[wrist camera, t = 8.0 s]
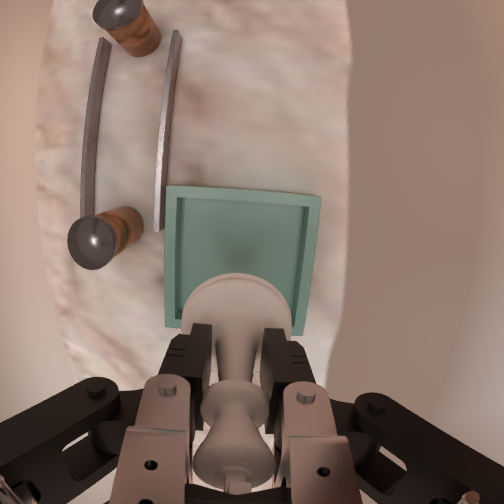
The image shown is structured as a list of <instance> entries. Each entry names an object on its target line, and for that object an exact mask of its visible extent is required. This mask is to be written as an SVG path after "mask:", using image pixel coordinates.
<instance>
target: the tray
mask: <svg viewBox="0 0 504 504" xmlns="http://www.w3.org/2000/svg"><path fill="white" fill-rule="evenodd" d="M320 205H321V197H320V196H316V195H311V194H301V193H291V192H280V191H269V190H257V189H244V188H229V187H214V186H195V185H167V188H166V210H165V248H164V292H165V327H170V328H180V329H182V328H181V325H182V313H183V309H184V306H185V303H186V301H187V299H188V298H189V296H190V295H191V293H192V292H193V291H194V290H195V289H196V288H197V287H198V286H199V285H201V284H202V283H203V282H205V281H207V280H209V279H211V278H213V277H215V276H219V275H222V274H228V273H244V274H250V275H254V276H257V277H259V278H262V279H264V280H266V281H267V282H269V283H270V284H272V285H273V286H274V287H275V288H277V289H278V290H279V291H280V293H281V294H282V295H283V297H284V298H285V300H286V302H287V304H288V306H289V309H290V312H291V319H292V331H291V336H303V331H304V325H305V319H306V312H307V306H308V299H309V292H310V285H311V278H312V271H313V264H314V256H315V248H316V240H317V232H318V223H319V214H320Z"/></svg>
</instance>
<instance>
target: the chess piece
mask: <svg viewBox="0 0 504 504" xmlns="http://www.w3.org/2000/svg"><path fill="white" fill-rule="evenodd" d="M193 323H202V324H212V357H211V370H212V371H214V372H217V373H218V377H219V382H217V383H215V384H213V385H211V386H209V387H208V388H207V389H206V390H205V391H204V392H203V400H202V402H201V406H200V413H201V416H202V418H203V420H204V421H205V422H206V423H207V424H208V425H209V426H210V427H211V428H210V431H209V433H208V435H207V437H206V438H205V440H204V441H203V442H202V443H201V444H200V446H199V448H198V449H197V451H196V453H195V455H194V457H193V461H192V467H193V470H194V472H195V474H196V475H197V476H198V477H199V478H200V479H201V480H202V481H204V482H205V483H207V484H209V485H211V486H213V487H216V488H220V489H224V491H223V492H225V493H229V494H234V495H241V494H247V493H252V492H251V488H254V487H257V486H259V485H261V484H263V483H265V482H266V481H268V480H269V479H270V478H271V477H272V476H273V474H274V472H275V469H276V461H275V458H274V456H273V454H272V452H271V450H270V449H269V447H268V445H267V444H266V443H265V442H264V440H263V438H262V437H261V435H260V432H259V430H258V428H259V427H260V426H262V425H263V424H264V423H265V421H266V420H267V418H268V416H269V406H270V399H269V397H268V395H267V393H266V392H265V391H264V390H263V389H262V388H260V387H259V386H257V385H255V384H253V383H252V378H253V374H254V373H257V372H260V360H261V351H262V342H263V333H264V328H283V329H284V332H285V336H286V339H287V341H290V338H291V331H292V319H291V312H290V309H289V306H288V304H287V302H286V300H285V298H284V297H283V295H282V294H281V293H280V291H279V290H278V289H277V288H275V287H274V286H273V285H272V284H270V283H269V282H267V281H266V280H264V279H262V278H259V277H257V276H254V275H250V274H244V273H228V274H222V275H219V276H215V277H213V278H211V279H209V280H207V281H205V282H203V283H202V284H201V285H199V286H198V287H197V288H196V289H195V290H194V291H193V292H192V293H191V295H190V296H189V298H188V299H187V301H186V303H185V306H184V309H183V313H182V325H181V328H182V334H186V335H190V332H191V329H192V326H193Z"/></svg>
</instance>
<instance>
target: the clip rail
mask: <svg viewBox="0 0 504 504" xmlns="http://www.w3.org/2000/svg"><path fill="white" fill-rule="evenodd" d="M93 19H94V21H95V22H96V23H97V24H98V25H99V26H100V27H101V28H102V29H104V30H106V31H107V32H108V33H109V34H110V35H111V36H112V37H113V38H114V39H115V40H116V41H117V42H118V43H119V44H120V45H121V46H122V47H123V48H124V49H125V50H126V51H127V52H128V53H129V54H130V55H132V56H135V57H143V56H146V55H148V54H150V53H152V52H153V51H154V50H156V48H157V47H158V46H159V44H160V42H161V33H160V31H159V29H158V28H157V26H156V24H155V23H154V21H153V19H152V18H151V16H150V14H149V13H148V11H147V9H146V8H145V6H144V4H143V0H99V1H98V2H97V4H96V5H95V7H94V10H93ZM181 42H182V37H181V35H180V33H179V31H178V30H173V33H172V39H171V45H170V51H169V57H168V64H167V71H166V78H165V85H164V93H163V101H162V110H161V120H160V130H159V141H158V153H157V167H156V185H155V207H154V232H160V231H161V230H163V229H164V228H165V201H166V181H167V165H168V152H169V140H170V128H171V118H172V109H173V100H174V91H175V83H176V76H177V68H178V61H179V55H180V48H181ZM110 49H111V44H110V43H109V42H108V41H107V40H106V39H105V38H104V37H102V38H99V42H98V47H97V51H96V56H95V61H94V66H93V71H92V77H91V83H90V89H89V96H88V103H87V110H86V119H85V128H84V138H83V151H82V167H81V197H80V219H78V220H77V221H75V222H74V223H73V225H72V226H71V228H70V230H69V233H68V239H67V242H68V249H69V252H70V254H71V256H72V258H73V259H74V261H75V262H76V263H77V264H78V265H80V266H81V267H83V268H85V269H89V270H97V269H100V268H102V267H103V266H105V265H106V264H107V263H109V262H110V261H111V260H112V259H113V257H115V256H116V255H118V254H119V253H120V252H122V251H123V250H125V249H126V248H128V247H129V246H131V245H132V244H134V243H135V242H136V241H138V240H139V238H140V237H141V235H142V233H143V220H142V218H141V216H140V214H139V213H138V212H137V211H136V210H135V209H133V208H131V207H126V206H125V207H119V208H116V209H113V210H110V211H106V212H103V213H100V214H97V215H94V186H95V164H96V149H97V137H98V127H99V117H100V109H101V101H102V94H103V87H104V81H105V75H106V69H107V64H108V59H109V53H110Z"/></svg>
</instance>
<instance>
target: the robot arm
mask: <svg viewBox="0 0 504 504" xmlns="http://www.w3.org/2000/svg"><path fill="white" fill-rule="evenodd" d="M306 356H307V355H306V353H305V350H304V348H303V347H302V346H301V345H300V344H299V343H298V342H297V341H287V339H286V336H285V332H284V329H283V328H264V333H263V342H262V351H261V360H260V383H261V388H262V389H263V390H264V391H265V392H266V393H267V395H268V397H269V399H270V406H269V416H268V418H267V420H266V421H265V423H264V425H265V434H274V445H273V450H272V454H273V456H274V458H275V461H276V469H275V472H274V474H273V476H272V489H267V490H262V491H257V492H252V493H247V494H241V495H234V494H229V493H225V492H221V491H217V490H214V489H210V488H206V487H203V486H200V485H196V484H193V467H192V461H193V441H194V437H195V431H196V430H201V431H203V426H204V420H203V418H202V416H201V413H200V406H201V402H202V400H203V392H204V391H205V390H206V389H207V388H208V387H209V380H210V373H211V357H212V324H202V323H193V326H192V329H191V332H190V335H186V334H178V335H177V336H176V337H174V338H173V339H172V340H171V342H170V344H169V347H168V349H167V352H166V355H165V357H164V360H163V362H162V365H161V368H160V370H159V373H158V375H156V376H154V377H151V378H150V379H149V380H147V382H146V383H145V385H144V388H143V389H140V390H132V391H119V390H118V386H117V385H116V383H115V382H113V381H112V380H110V379H108V378H104V377H91V378H87V379H85V380H82V381H81V382H79V383H77V384H75V385H73V386H71V387H69V388H67V389H65V390H63V391H62V392H60V393H58V394H56V395H54V396H52V397H50V398H48V399H46V400H44V401H42V402H41V403H39V404H37V405H35V406H33V407H31V408H29V409H27V410H25V411H23V412H21V413H19V414H17V415H15V416H13V417H11V418H9V419H7V420H5V421H3V422H1V423H0V504H67V503H68V502H70V501H71V500H72V499H74V498H75V497H77V496H78V495H80V494H81V493H82V492H84V491H85V490H87V489H88V488H90V487H91V486H92V485H94V484H95V483H96V482H98V481H99V480H101V479H102V478H103V477H104V476H106V475H107V474H109V473H110V472H111V471H112V470H114V469H115V468H116V467H117V469H116V474H115V478H114V483H113V488H112V492H111V497H110V500H109V501H107V502H106V503H104V504H363V503H362V499H361V494H360V489H361V490H362V491H363V492H364V493H366V494H367V495H368V496H369V497H370V498H372V499H373V500H374V501H375V502H377V503H378V504H504V467H503V466H502V465H500V464H498V463H496V462H495V461H493V460H491V459H489V458H487V457H486V456H484V455H482V454H481V453H479V452H477V451H475V450H474V449H472V448H470V447H469V446H467V445H465V444H463V443H462V442H460V441H458V440H457V439H455V438H453V437H452V436H450V435H449V434H447V433H445V432H443V431H442V430H440V429H439V428H437V427H435V426H434V425H432V424H430V423H429V422H427V421H426V420H424V419H423V418H421V417H419V416H418V415H416V414H414V413H413V412H411V411H410V410H408V409H406V408H405V407H403V406H402V405H400V404H399V403H397V402H396V401H394V400H392V399H391V398H389V397H388V396H386V395H383V394H379V393H365V394H362V395H360V396H358V397H357V398H356V400H355V403H354V404H352V403H346V402H340V401H336V400H332V399H330V398H329V395H328V393H327V391H326V390H325V389H324V388H323V387H321V386H320V385H318V384H316V382H315V379H314V376H313V373H312V370H311V367H310V364H309V361H308V358H307V357H306ZM86 432H88V436H86V437H85V438H83V439H82V440H80V441H78V442H77V443H75V444H74V445H72V446H71V447H69V448H67V449H66V450H64V451H63V452H62V450H63V448H64V447H65V446H66V445H67V444H69V443H70V442H72V441H74V440H75V439H77V438H78V437H80V436H81V435H83V434H85V433H86ZM381 446H382V447H384V448H385V449H387V450H388V451H389V452H391V453H392V454H394V455H395V456H396V457H398V458H399V459H400V460H402V461H403V462H404V463H405V465H406V468H407V471H405V470H404V469H403V468H401V467H400V466H398V465H397V464H396V463H394V462H393V461H391V460H390V459H389V458H387V457H386V456H385V455H383V454H382V453H381V452H379V449H380V447H381Z"/></svg>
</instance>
